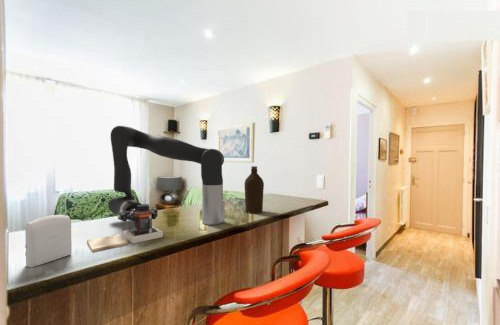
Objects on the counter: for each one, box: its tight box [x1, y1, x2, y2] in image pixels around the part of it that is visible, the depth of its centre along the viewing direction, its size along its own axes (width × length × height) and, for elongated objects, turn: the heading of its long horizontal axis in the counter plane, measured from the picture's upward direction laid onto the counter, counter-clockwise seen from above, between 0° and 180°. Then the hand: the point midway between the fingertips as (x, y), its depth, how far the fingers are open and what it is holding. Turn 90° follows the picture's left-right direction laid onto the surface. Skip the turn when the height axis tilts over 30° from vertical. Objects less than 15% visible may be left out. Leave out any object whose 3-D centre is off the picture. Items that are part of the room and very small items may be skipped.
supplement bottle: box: [133, 203, 153, 236], centre depth 89 cm, size 6×6×11 cm
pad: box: [86, 234, 129, 252], centre depth 81 cm, size 10×11×1 cm
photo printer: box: [24, 214, 72, 268], centre depth 67 cm, size 10×4×12 cm, turn 156°
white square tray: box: [123, 225, 164, 244], centre depth 89 cm, size 10×10×2 cm
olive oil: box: [244, 165, 265, 214], centre depth 133 cm, size 11×11×25 cm
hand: (145, 217), depth 87 cm, fingers closed on supplement bottle, 6 cm apart
